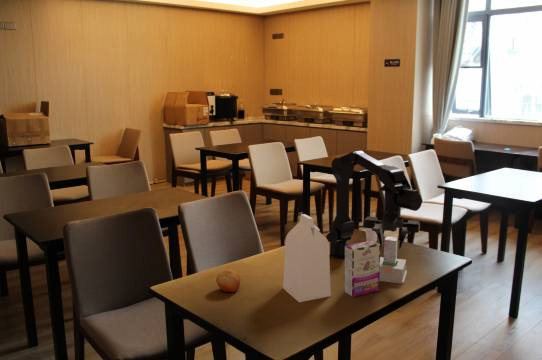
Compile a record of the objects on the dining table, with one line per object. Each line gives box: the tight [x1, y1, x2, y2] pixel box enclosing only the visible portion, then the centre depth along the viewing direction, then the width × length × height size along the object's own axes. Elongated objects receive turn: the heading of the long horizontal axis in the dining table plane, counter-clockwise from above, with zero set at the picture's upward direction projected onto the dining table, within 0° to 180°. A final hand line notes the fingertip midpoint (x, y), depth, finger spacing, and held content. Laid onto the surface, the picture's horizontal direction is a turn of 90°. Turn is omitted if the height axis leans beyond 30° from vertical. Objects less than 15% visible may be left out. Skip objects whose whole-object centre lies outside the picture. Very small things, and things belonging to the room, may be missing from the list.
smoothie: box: [365, 212, 378, 243], centre depth 218 cm, size 6×6×14 cm
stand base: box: [379, 256, 408, 285], centre depth 185 cm, size 11×11×5 cm
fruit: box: [215, 268, 241, 293], centre depth 174 cm, size 8×8×8 cm
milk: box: [282, 213, 332, 303], centre depth 170 cm, size 12×12×26 cm
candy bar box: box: [344, 240, 381, 298], centre depth 171 cm, size 11×5×16 cm, turn 117°
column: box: [383, 236, 399, 266], centre depth 183 cm, size 4×4×10 cm
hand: (390, 247), depth 183 cm, fingers open, 6 cm apart
